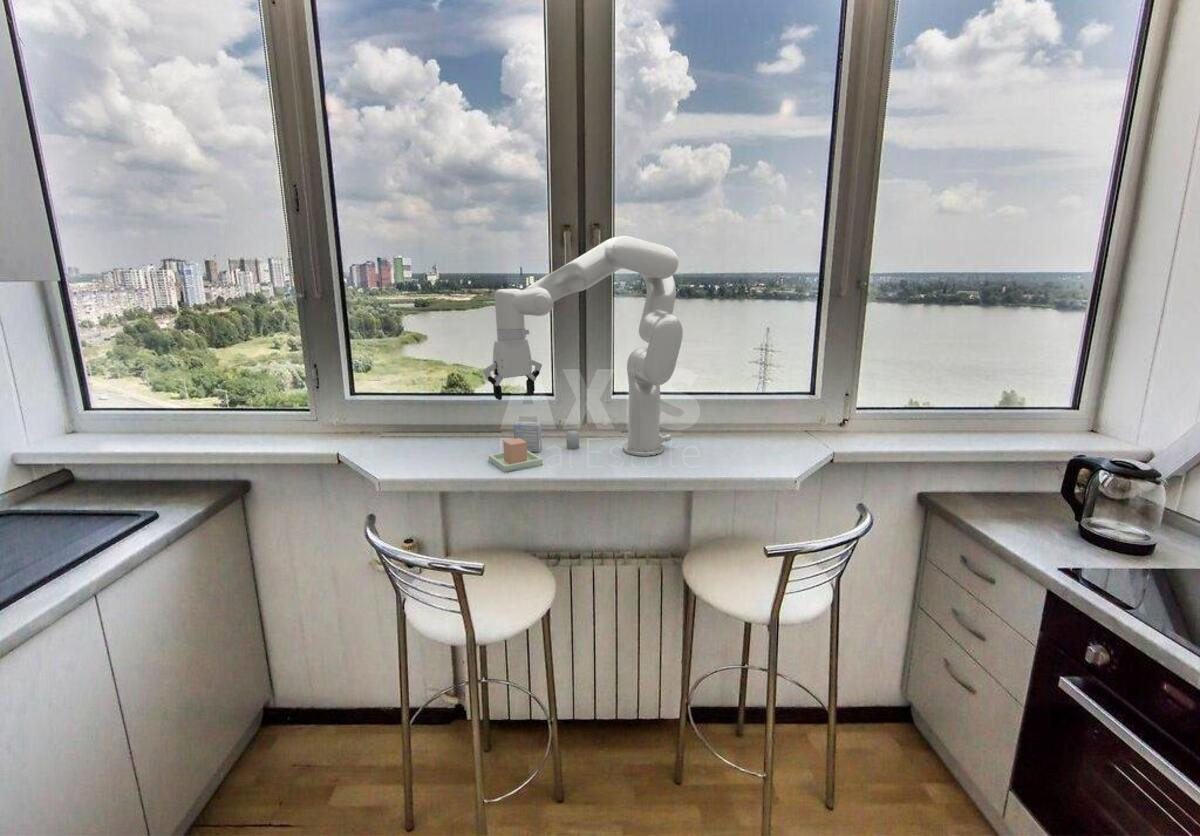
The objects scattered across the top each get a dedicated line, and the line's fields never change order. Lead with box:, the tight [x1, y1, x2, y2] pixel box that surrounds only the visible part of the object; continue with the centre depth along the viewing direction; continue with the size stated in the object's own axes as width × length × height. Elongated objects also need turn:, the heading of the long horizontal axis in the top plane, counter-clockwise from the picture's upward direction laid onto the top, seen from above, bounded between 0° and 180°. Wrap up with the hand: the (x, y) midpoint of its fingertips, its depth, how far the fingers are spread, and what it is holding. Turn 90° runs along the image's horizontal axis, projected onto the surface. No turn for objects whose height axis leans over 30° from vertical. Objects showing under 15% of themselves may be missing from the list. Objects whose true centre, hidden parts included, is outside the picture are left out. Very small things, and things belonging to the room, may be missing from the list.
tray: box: [488, 450, 544, 473], centre depth 162 cm, size 12×12×2 cm
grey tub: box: [565, 430, 580, 450], centre depth 176 cm, size 4×4×5 cm
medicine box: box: [512, 421, 543, 453], centre depth 173 cm, size 8×4×9 cm, turn 84°
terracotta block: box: [502, 438, 527, 464], centre depth 161 cm, size 5×5×6 cm
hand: (514, 396), depth 157 cm, fingers open, 9 cm apart
